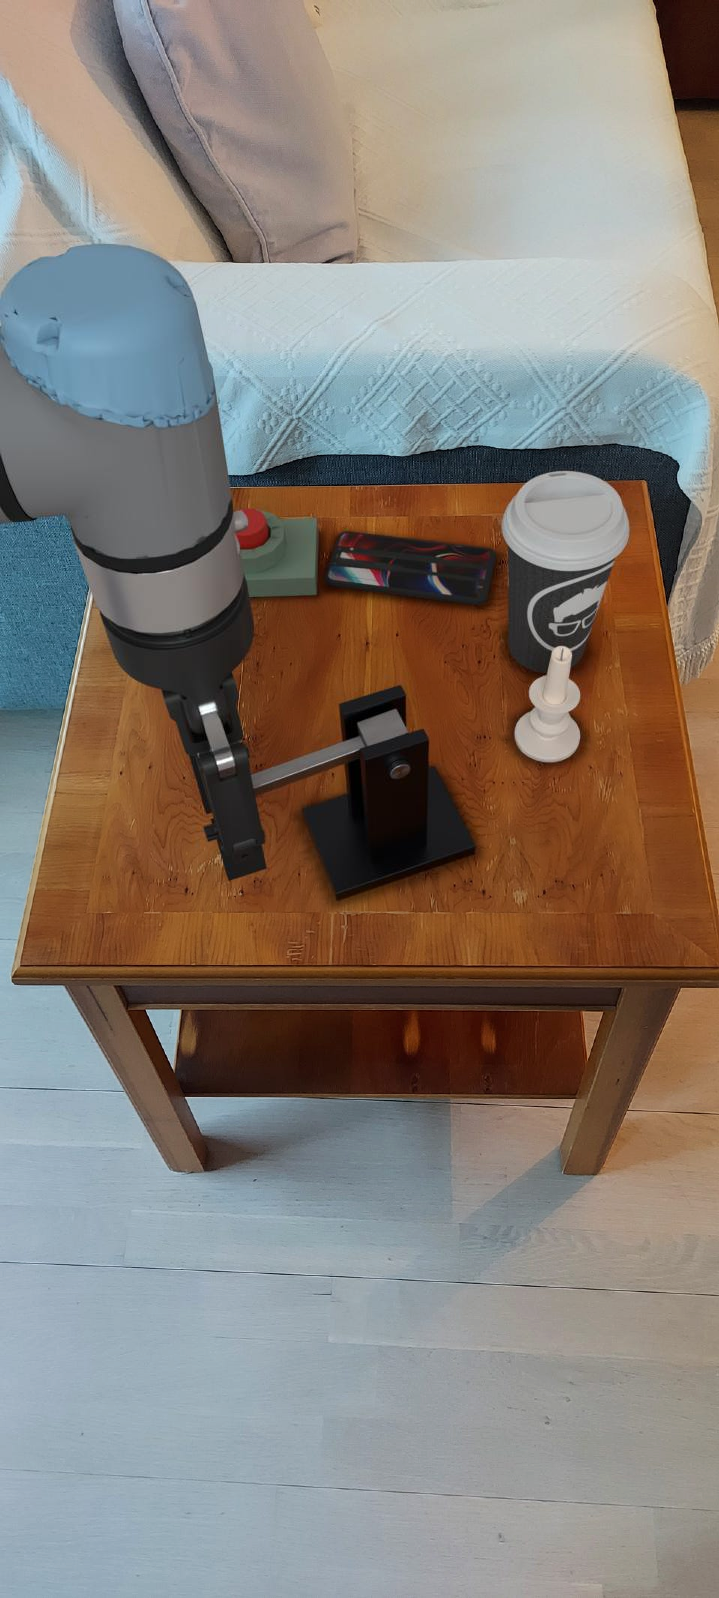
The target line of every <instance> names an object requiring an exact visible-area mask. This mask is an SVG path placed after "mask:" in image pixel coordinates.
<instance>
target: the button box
mask: <svg viewBox="0 0 719 1598" xmlns="http://www.w3.org/2000/svg"><path fill="white" fill-rule="evenodd" d="M257 510H258V511H260V512H262V513H263V514H264V516H265V517H266V522H267V528H268V539H267V541H266V542H265V543H264V544H263V545H262V546H259V547H257V548H255V549H242V550H241V549H240V551H241V557H242V563H243V574H244V576H245V578H246V581H247V586H248V592H249V598H265V597H267V598H269V597H295V596H296V597H297V596H300V597H301V596H317V594H318V573H319V572H318V571H319V540H320V539H319V538H320V536H319V535H320V534H319V525H318V518H317V517H303V518H302V517H301V518H300V517H299V518H279V517H277V515H276V514H273V513H271V512H267V511H265V510H263V509H257Z"/></svg>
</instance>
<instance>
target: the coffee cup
mask: <svg viewBox="0 0 719 1598" xmlns="http://www.w3.org/2000/svg"><path fill="white" fill-rule="evenodd" d="M500 528H501V534H502V536H503V538H504V541H505V543H506V544H507V645H508V651H509V653H510V655H511V656H512V658H513V660H514V661H516V662H517V663H518V664H519V665H520V666H522V667H523V668H525V669H527V670H530V671H532V672H535V673H541V674H547V672H548V667H549V663H550V659H551V654H552V651H553V650H554V649H555V648H556V647H558V646H565V647H567V648H569V649H570V651H571V653H572V659H571V667H570V669H571V668H573V667H575V666H576V665H577V664H578V663H579V662H580V660H581V659H582V657H583V656H584V652H585V650H586V646H587V644H588V641H589V638H590V634H591V632H592V628H593V625H594V623H595V620H596V617H597V613H598V611H599V608H600V605H601V601H602V599H603V597H604V593H605V590H606V587H607V584H608V581H609V578H610V575H611V572H612V569H613V567H614V564H615V561H616V558H617V557H618V556H619V555H621V553H622V552H623V550H624V549H625V548H626V546H627V544H628V542H629V538H630V531H631V530H630V521H629V517H628V513H627V510H626V508H625V506H624V505H623V501H622V498H621V496H620V495H619V493H618V491H617V490H616V489H615V488H614V487H612V485H611V484H609V483H608V482H607V481H605V480H603V479H601V478H600V477H597V476H594V475H592V474H589V473H585V472H580V471H575V470H574V471H572V470H559V471H558V470H557V471H551V472H546V473H542V474H540V475H537V476H535V477H533V478H531V479H530V480H528V481H527V482H526V483H524V484H523V485H522V487H520V489H519V490H518V492H517V493H516V494H515V495H514V496H513V497H512V499H511V500H510V501H509V502H508V505H507V506H506V509H505V511H504V513H503V516H502V519H501V527H500Z"/></svg>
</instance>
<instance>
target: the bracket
mask: <svg viewBox="0 0 719 1598" xmlns="http://www.w3.org/2000/svg"><path fill="white" fill-rule="evenodd" d="M393 709H397V711H398V713H399V715H400V717H401V719H402V721H403V723H404V725H405V727H406V728H407V694H406V692H405V690H404V688H403V686H402V684H398V685H395V686H391V687H389V688H385V689H382V690H379V691H376V692H372V693H369V694H366V695H363V696H360V697H356V698H353V699H350V700H347V701H343V702H340V703H338V710H339V720H340V731H341V732H340V733H341V742H344V741H346V740H349V739H352V738H355V737H357V736H359V732H358V727H357V722H360V721H362V720H365V719H368V718H371V717H374V716H376V715H379V714H382V713H385V712H387V711H390V710H393ZM429 761H430V738H429V736H428V735H427V732H426V731H425V729H424V728H421V729H418V730H413V731H411V732H408V733H407V734H404V735H401V736H398V737H395V738H392V739H388V740H385V741H382V742H379V743H376V744H373V745H369V746H366V747H363V748H360V758H359V759H357V760H354V761H351V762H348V763H346V764H343V765H344V772H345V773H344V775H345V784H346V785H345V786H346V787H345V788H346V793H344V794H342V795H339V796H335V797H333V798H330V799H326V800H323V801H321V802H317V803H313V804H311V805H308V806H305V807H302V808H301V813H302V814H301V815H302V818H303V819H302V820H303V821H304V823H305V824H304V825H305V826H306V828H307V831H308V834H309V836H310V838H311V841H312V843H313V846H314V849H315V851H316V853H317V856H318V858H319V861H320V863H321V867H322V868H323V871H324V873H325V875H326V878H327V881H328V883H329V886H330V888H331V890H332V893H333V896H334V899H335V900H336V902H340V901H342V900H345V899H347V898H350V897H353V896H357V895H359V894H362V893H366V892H367V891H371V890H374V889H377V888H380V887H383V886H386V885H389V884H392V883H394V882H397V881H400V880H404V879H406V878H409V877H412V876H414V875H418V874H420V873H424V872H426V871H427V872H428V871H429V870H432V869H435V868H439V867H441V866H444V865H447V864H450V863H453V862H456V861H459V860H461V859H465V858H467V857H471V856H473V855H475V854H476V848H477V847H476V844H475V842H474V839H473V838H472V836H471V834H470V831H469V829H468V828H467V826H466V824H465V822H464V820H463V818H462V816H461V814H460V812H459V811H458V808H457V807H456V805H455V802H454V800H453V799H452V797H451V795H450V793H449V791H448V789H447V787H446V785H445V783H444V781H443V778H442V777H441V775H440V772H439V771H438V769H437V768H436V765H431V766H430V765H429V764H430V763H429Z"/></svg>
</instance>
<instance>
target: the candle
mask: <svg viewBox="0 0 719 1598" xmlns="http://www.w3.org/2000/svg"><path fill="white" fill-rule="evenodd" d="M571 659H572V653H571V651H570V649H569V648H567V647H565V646H558V647H556V648H555V649H554V650H553V651H552V654H551V659H550V663H549V667H548V672H547V673H546V675H542V676H541V677H538V678H536V679H535V680H534V681H533V682H532V683H531V685H530V687H529V690H528V698H529V700H530V703H532V705H533V706H534V707H533V708H532V710H530V711H528V712H526V713H525V714H523V715H522V716H521V717H519V719H518V721H517V722H516V724H515V727H514V732H513V733H514V741H515V743H516V746H517V748H518V749H519V750H520V752H521V753H522V754H524V755H525V756H526V757H528V758H531V759H532V760H534V761H537V762H542V763H557V762H562V761H563V760H566V759H567V758H570V757H571V756H572V755H573V754H574V753H575V752H576V751H577V750H578V747H579V744H580V739H581V730H580V728H579V726H578V724H577V722H576V721H575V720H574V719H573V717H571V715H570V713H569V712H570V711H573V710H574V709H575V708H576V707H577V706H578V705H579V703H580V700H581V691H580V689H579V686H578V685H577V684H576V683H575V681H573V680H571V678H570V673H571V668H572V667H571ZM570 667H571V668H570Z"/></svg>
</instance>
